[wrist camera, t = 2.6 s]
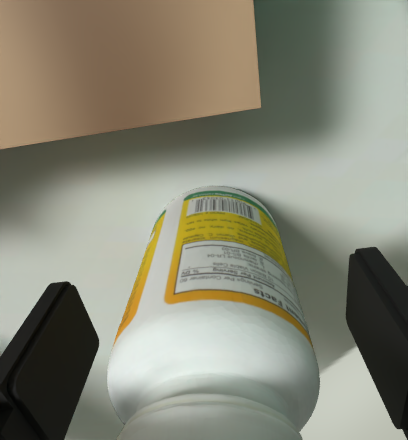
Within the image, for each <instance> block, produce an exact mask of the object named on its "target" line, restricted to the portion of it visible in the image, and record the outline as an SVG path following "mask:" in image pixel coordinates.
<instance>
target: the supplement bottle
mask: <svg viewBox="0 0 408 440" xmlns="http://www.w3.org/2000/svg"><path fill="white" fill-rule="evenodd" d="M107 385H108V392H109V396H110V399H111V403H112V405H113V407H114V409H115V411H116V413H117V415H118V417H119V418H120V420H121V421H122V422H123V424H124V425H125V426H124V428H123V429H122V432H121V433H120V434H119V435H118V437H117V439H116V440H302V437H301V435H300V433H299V432H300V431H301V429H302V428H303V427H304V425H305V424H306V423H307V421H308V420H309V418H310V417H311V415H312V413H313V411H314V408H315V406H316V403H317V399H318V395H319V387H320V386H319V385H320V378H319V369H318V364H317V359H316V356H315V352H314V349H313V345H312V342H311V339H310V335H309V332H308V328H307V325H306V322H305V319H304V315H303V312H302V309H301V305H300V302H299V299H298V295H297V292H296V289H295V286H294V283H293V280H292V276H291V273H290V270H289V266H288V263H287V259H286V256H285V253H284V249H283V246H282V242H281V238H280V235H279V232H278V229H277V226H276V224H275V221H274V219H273V217H272V216H271V214H270V213H269V212H268V210H267V209H266V208H265V207H264V206H263V205H262V204H261V203H260V202H259V201H258V200H256V199H255V198H253V197H252V196H250V195H248V194H246V193H244V192H242V191H239V190H237V189H233V188H229V187H223V186H207V187H200V188H196V189H193V190H190V191H188V192H185V193H183V194H181V195H180V196H178V197H176V198H175V199H174V200H172V201H171V202H170V203H169V204H168V205H167V206H166V207H165V208H164V209H163V210H162V212H161V213H160V215H159V216H158V218H157V220H156V223H155V225H154V228H153V230H152V233H151V236H150V239H149V242H148V245H147V248H146V251H145V254H144V257H143V260H142V263H141V266H140V269H139V272H138V275H137V278H136V281H135V284H134V287H133V290H132V293H131V296H130V298H129V301H128V304H127V307H126V310H125V313H124V315H123V319H122V321H121V324H120V326H119V328H118V332H117V335H116V338H115V342H114V345H113V348H112V352H111V355H110V359H109V363H108V371H107Z"/></svg>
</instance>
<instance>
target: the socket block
mask: <svg viewBox="0 0 408 440" xmlns="http://www.w3.org/2000/svg"><path fill="white" fill-rule="evenodd" d="M256 108H261V99H260V85H259V72H258V58H257V45H256V31H255V18H254V4H253V0H0V149H5V148H11V147H18V146H24V145H30V144H36V143H43V142H49V141H55V140H62V139H68V138H74V137H80V136H87V135H93V134H99V133H106V132H112V131H118V130H124V129H131V128H137V127H143V126H150V125H156V124H162V123H168V122H175V121H181V120H187V119H194V118H200V117H206V116H212V115H219V114H225V113H231V112H238V111H244V110H250V109H256Z"/></svg>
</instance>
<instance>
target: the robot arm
mask: <svg viewBox="0 0 408 440" xmlns="http://www.w3.org/2000/svg"><path fill="white" fill-rule="evenodd" d="M346 320H347V324H348V327H349V329H350V331H351V333H352V335H353V338H354V340H355V342H356V344H357V346H358V348H359V351H360V353H361V355H362V357H363V359H364V362H365V364H366V366H367V368H368V370H369V372H370V375H371V376H372V379H373V381H374V383H375V385H376V388H377V390H378V392H379V394H380V396H381V398H382V400H383V402H384V405H385V407H386V409H387V411H388V413H389V416H390V418H391V420H392V422H393V424H394V426H395V427H396V428H397V429H402V430H403V431H404V434H405V436H406V438H407V440H408V286H406V285H405V284H404V282H403V281H402V280H401V278H400V277H399V276H398V274H397V273H396V272H395V271H394V269H393V268H392V267H391V265H390V264H389V263H388V261H387V260H386V259H385V258H384V256H383V255H382V254H381V252H380V251H379V250H378V249H377V248H376V247H369V248H361V249H356V251H355V254H351V255H350V257H349V271H348V288H347V304H346ZM98 348H99V338H98V336H97V333H96V331H95V329H94V327H93V324H92V322H91V320H90V318H89V316H88V313H87V311H86V309H85V307H84V304H83V302H82V300H81V298H80V295H79V293H78V291H77V289H76V287H75V286H74V285H71V284H70V283H69V282H67V281H66V282H57V283H51V284H50V285H49V286H48V287H47V288H46V290H45V291H44V293H43V294H42V296H41V297H40V299H39V300H38V302H37V303H36V305H35V306H34V308H33V309H32V311H31V312H30V314H29V315H28V317H27V318H26V320H25V321H24V323H23V324H22V326H21V327H20V329H19V330H18V331H17V333H16V334H15V336H14V337H13V339H12V340H11V342H10V343H9V345H8V346H7V348H6V349H5V351H4V352H3V354H2V355H1V357H0V440H64V438H65V435H66V433H67V430H68V427H69V425H70V422H71V420H72V417H73V414H74V412H75V409H76V406H77V404H78V401H79V398H80V396H81V393H82V390H83V388H84V385H85V382H86V380H87V377H88V374H89V372H90V369H91V366H92V364H93V361H94V359H95V356H96V353H97V351H98Z"/></svg>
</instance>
